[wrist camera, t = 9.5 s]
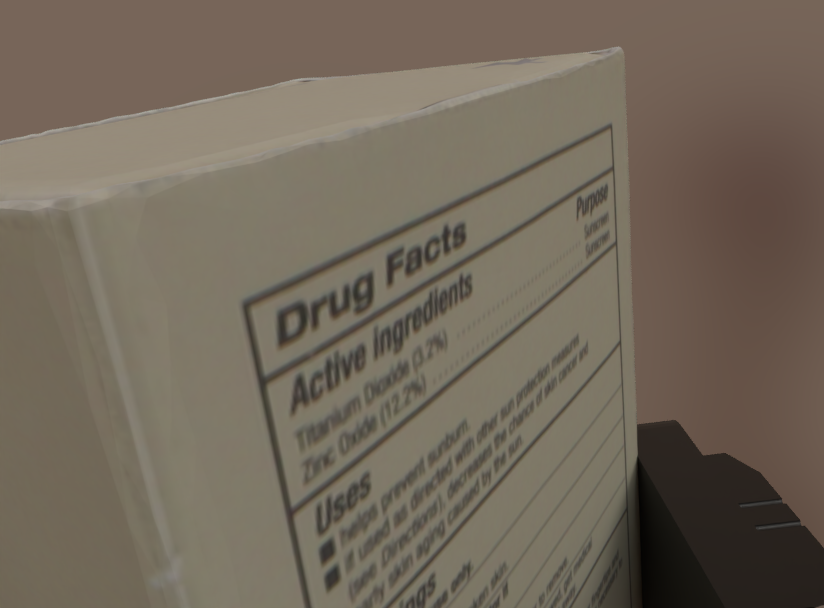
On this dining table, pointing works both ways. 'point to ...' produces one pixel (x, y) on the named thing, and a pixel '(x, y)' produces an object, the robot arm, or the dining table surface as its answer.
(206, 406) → the skincare box
